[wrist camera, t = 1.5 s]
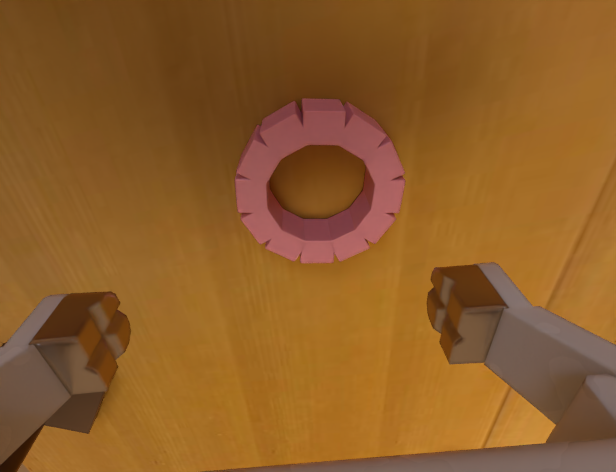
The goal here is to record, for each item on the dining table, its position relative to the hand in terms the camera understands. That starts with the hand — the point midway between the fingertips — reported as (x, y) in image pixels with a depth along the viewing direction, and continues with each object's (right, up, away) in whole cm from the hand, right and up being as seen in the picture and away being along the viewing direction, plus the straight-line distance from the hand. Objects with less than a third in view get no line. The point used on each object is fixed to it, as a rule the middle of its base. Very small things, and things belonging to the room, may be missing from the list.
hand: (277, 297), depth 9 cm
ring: (+1, +5, +14) cm, 15 cm away
